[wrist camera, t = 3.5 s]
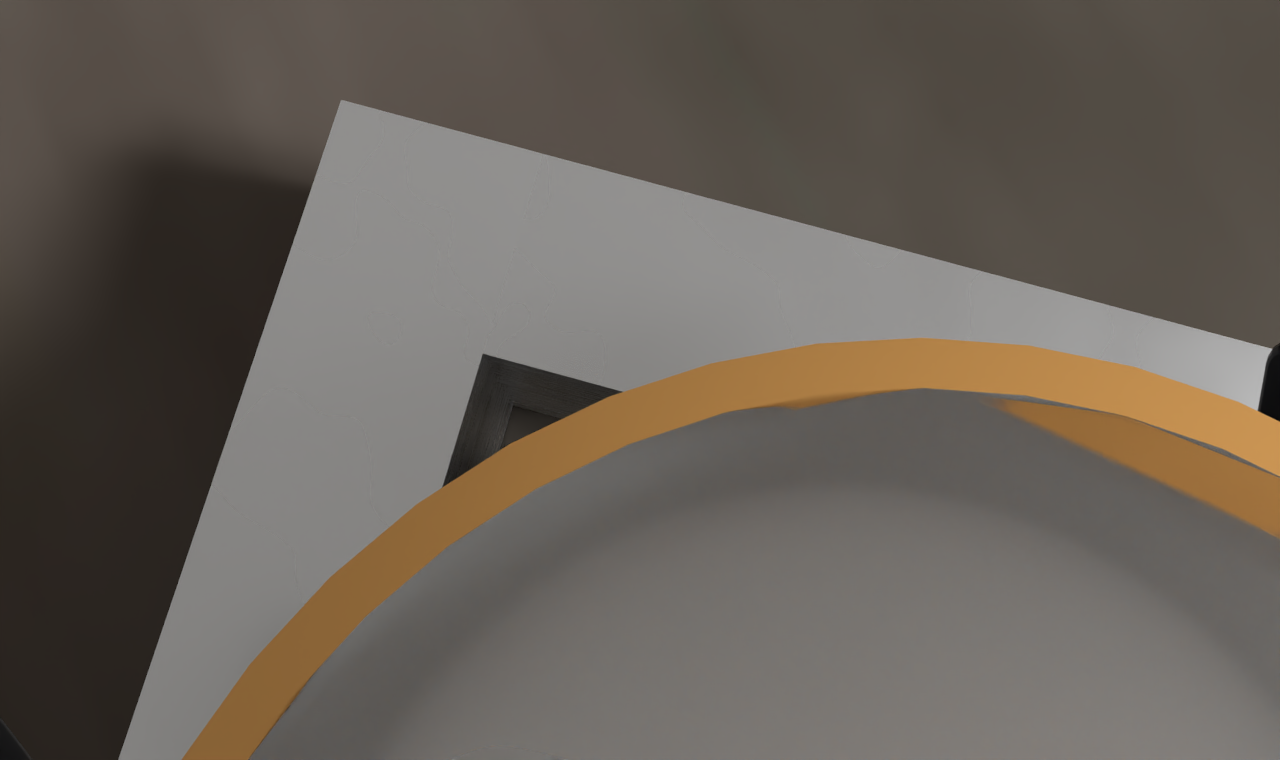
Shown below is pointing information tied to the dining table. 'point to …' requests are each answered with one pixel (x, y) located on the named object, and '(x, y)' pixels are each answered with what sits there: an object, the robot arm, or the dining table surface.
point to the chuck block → (528, 354)
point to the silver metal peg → (814, 577)
